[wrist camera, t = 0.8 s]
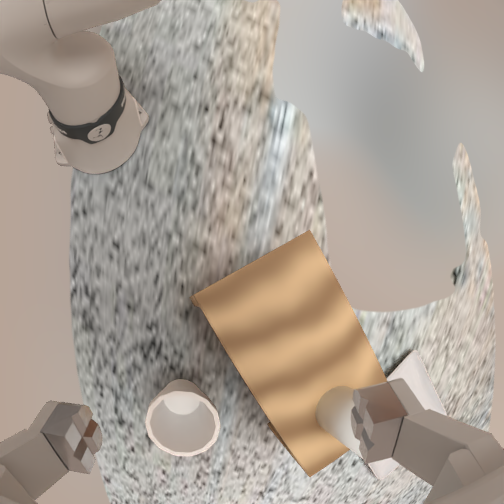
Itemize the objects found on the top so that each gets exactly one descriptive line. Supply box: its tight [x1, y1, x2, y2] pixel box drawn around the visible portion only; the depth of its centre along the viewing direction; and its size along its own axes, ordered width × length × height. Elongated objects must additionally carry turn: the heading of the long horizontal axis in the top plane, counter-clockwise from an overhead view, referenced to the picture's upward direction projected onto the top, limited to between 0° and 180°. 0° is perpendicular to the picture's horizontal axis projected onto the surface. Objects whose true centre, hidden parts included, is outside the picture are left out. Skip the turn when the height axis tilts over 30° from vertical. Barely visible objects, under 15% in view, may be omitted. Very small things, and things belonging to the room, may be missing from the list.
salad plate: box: [368, 350, 447, 480], centre depth 54 cm, size 21×21×3 cm
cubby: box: [190, 230, 387, 477], centre depth 43 cm, size 27×15×18 cm, turn 30°
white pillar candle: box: [316, 386, 385, 462], centre depth 30 cm, size 6×6×10 cm
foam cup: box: [145, 379, 221, 456], centre depth 41 cm, size 10×9×13 cm
